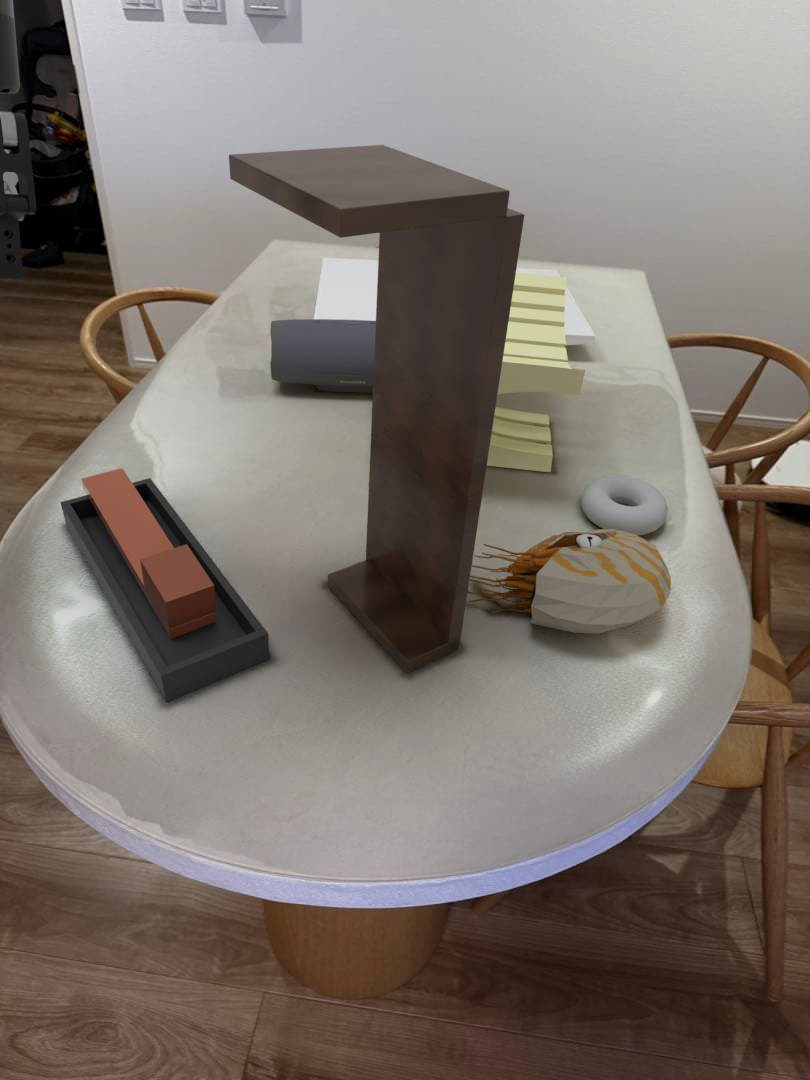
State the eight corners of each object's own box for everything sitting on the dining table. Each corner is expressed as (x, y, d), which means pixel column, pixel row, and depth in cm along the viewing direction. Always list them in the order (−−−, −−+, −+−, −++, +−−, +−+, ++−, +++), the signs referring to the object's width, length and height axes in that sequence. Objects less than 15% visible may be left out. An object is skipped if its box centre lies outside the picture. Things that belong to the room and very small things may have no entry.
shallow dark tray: (66, 526, 82) (60, 502, 80) (154, 501, 87) (150, 477, 85) (166, 702, 64) (161, 676, 62) (269, 658, 69) (268, 633, 67)
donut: (580, 487, 95) (575, 531, 87) (585, 463, 93) (581, 506, 85) (662, 502, 94) (665, 549, 86) (669, 478, 92) (673, 523, 84)
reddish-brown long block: (83, 488, 82) (75, 451, 79) (124, 477, 84) (118, 441, 81) (170, 639, 68) (165, 602, 65) (216, 622, 71) (214, 585, 67)
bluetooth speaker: (425, 375, 118) (430, 312, 112) (431, 403, 110) (437, 337, 104) (275, 371, 115) (273, 306, 109) (271, 399, 108) (268, 331, 102)
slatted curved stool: (437, 385, 115) (449, 266, 104) (543, 396, 114) (565, 277, 104) (420, 495, 91) (433, 354, 80) (554, 509, 91) (585, 370, 80)
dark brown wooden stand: (259, 611, 74) (228, 154, 49) (377, 566, 80) (400, 143, 56) (334, 708, 65) (340, 209, 40) (459, 648, 71) (528, 188, 47)
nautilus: (439, 640, 73) (457, 552, 85) (673, 668, 70) (656, 572, 82) (443, 573, 68) (461, 490, 81) (692, 599, 65) (671, 509, 78)
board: (313, 350, 122) (313, 322, 119) (323, 282, 148) (323, 257, 145) (589, 363, 125) (595, 336, 122) (552, 294, 151) (557, 270, 148)
